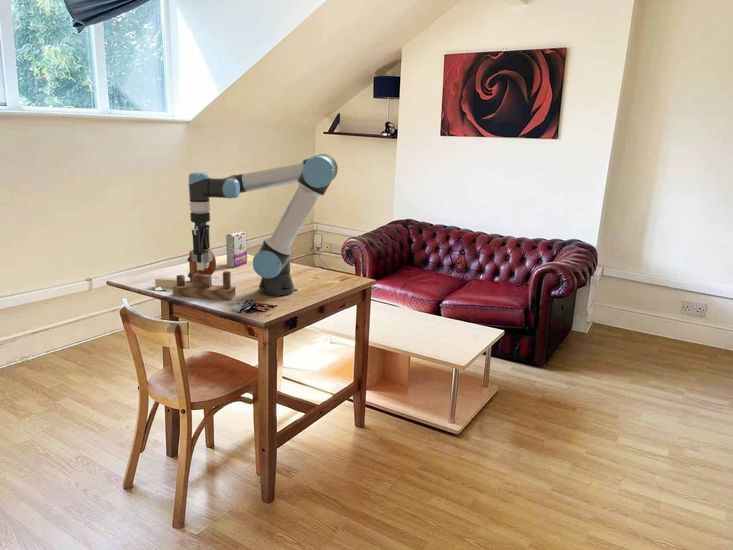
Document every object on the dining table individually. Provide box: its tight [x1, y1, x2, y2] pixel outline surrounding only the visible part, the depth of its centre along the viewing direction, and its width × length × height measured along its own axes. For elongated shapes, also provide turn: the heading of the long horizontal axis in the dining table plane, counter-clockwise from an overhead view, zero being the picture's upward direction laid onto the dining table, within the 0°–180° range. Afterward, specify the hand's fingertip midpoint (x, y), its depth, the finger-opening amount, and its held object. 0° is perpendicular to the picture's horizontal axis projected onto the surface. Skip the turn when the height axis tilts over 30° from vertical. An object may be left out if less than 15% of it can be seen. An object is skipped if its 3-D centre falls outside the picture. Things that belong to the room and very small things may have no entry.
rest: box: [154, 276, 177, 292], centre depth 245 cm, size 10×10×4 cm
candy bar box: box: [225, 231, 248, 269], centre depth 286 cm, size 11×5×16 cm, turn 157°
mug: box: [187, 249, 217, 283], centre depth 253 cm, size 15×8×15 cm, turn 62°
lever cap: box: [191, 248, 213, 264], centre depth 232 cm, size 7×4×5 cm, turn 85°
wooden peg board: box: [172, 270, 237, 302], centre depth 235 cm, size 24×7×11 cm, turn 85°
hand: (202, 268), depth 233 cm, fingers closed on lever cap, 4 cm apart
